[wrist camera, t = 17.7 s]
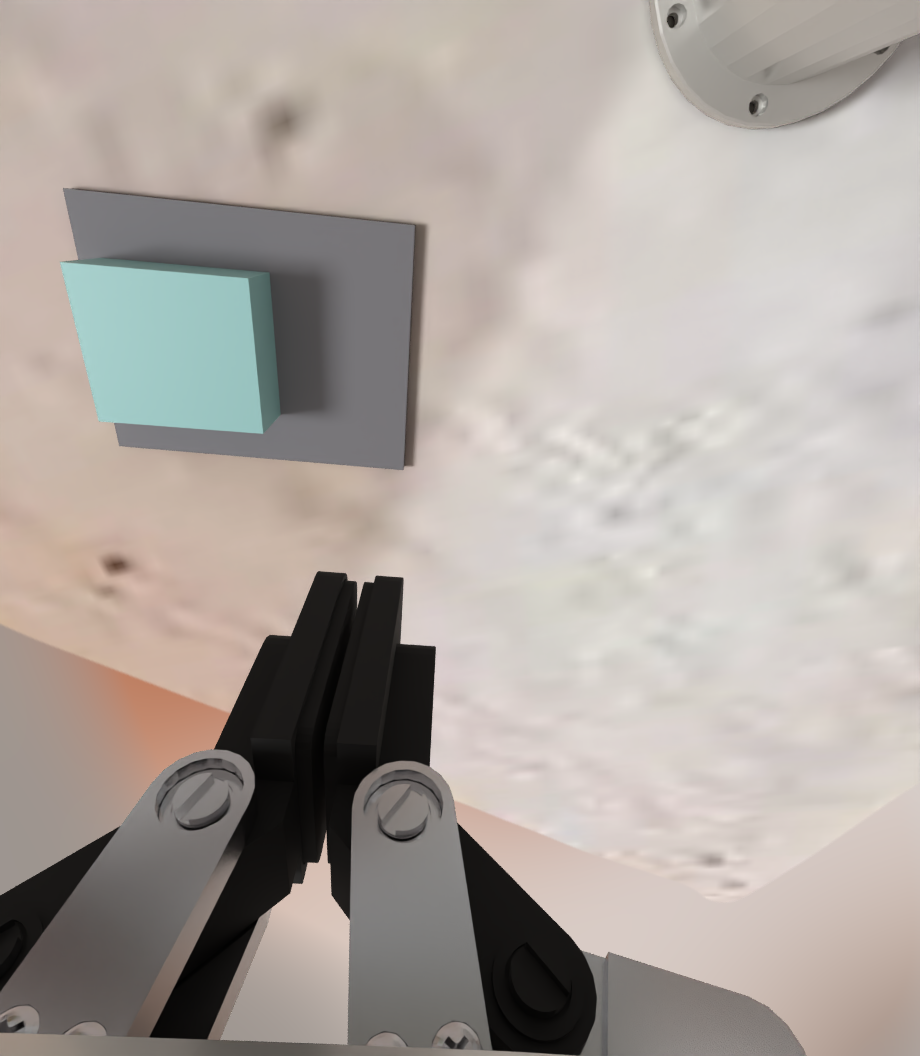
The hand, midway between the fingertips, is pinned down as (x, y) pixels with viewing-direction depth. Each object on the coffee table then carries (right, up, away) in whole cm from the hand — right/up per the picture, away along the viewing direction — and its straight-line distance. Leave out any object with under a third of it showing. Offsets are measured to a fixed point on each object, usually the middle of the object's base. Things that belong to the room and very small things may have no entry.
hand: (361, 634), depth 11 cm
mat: (-10, +13, +21) cm, 27 cm away
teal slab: (-9, +12, +19) cm, 24 cm away
